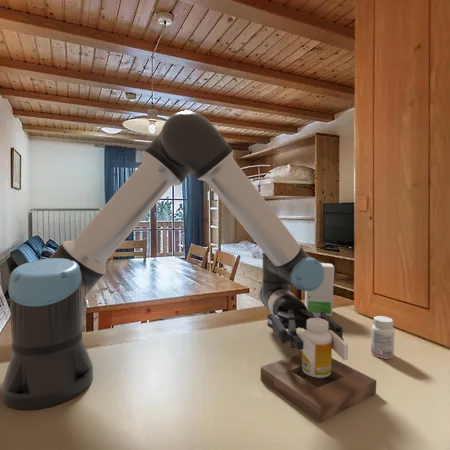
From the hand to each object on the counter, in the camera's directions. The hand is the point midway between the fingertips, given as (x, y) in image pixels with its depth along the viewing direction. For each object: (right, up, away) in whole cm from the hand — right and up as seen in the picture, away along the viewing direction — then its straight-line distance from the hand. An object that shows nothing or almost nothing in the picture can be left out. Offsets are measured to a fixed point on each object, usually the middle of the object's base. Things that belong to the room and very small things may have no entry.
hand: (329, 353), depth 56 cm
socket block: (-1, -9, +6) cm, 10 cm away
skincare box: (+12, -6, +48) cm, 50 cm away
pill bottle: (+18, -8, +19) cm, 27 cm away
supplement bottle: (-1, -6, +6) cm, 8 cm away
